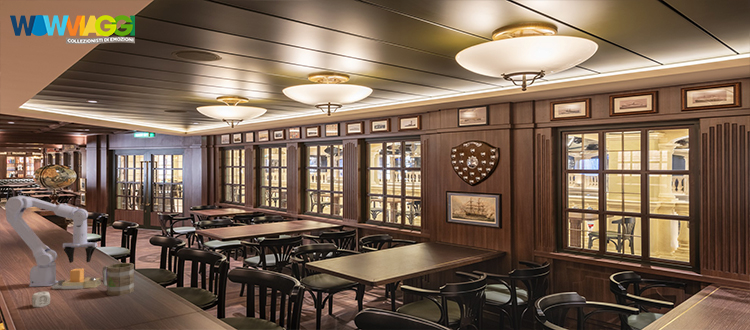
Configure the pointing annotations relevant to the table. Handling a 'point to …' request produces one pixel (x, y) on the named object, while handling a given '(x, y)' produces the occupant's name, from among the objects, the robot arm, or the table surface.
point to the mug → (119, 279)
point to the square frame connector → (78, 284)
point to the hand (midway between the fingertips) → (79, 262)
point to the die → (40, 299)
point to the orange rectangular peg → (77, 275)
